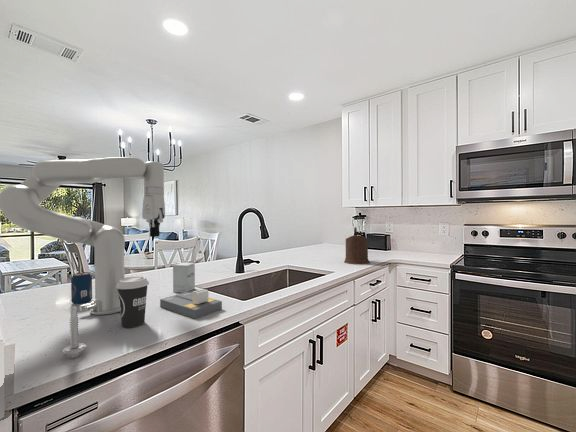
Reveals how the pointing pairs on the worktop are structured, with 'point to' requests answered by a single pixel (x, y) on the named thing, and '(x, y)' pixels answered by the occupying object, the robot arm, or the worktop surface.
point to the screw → (74, 337)
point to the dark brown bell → (356, 249)
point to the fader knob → (200, 296)
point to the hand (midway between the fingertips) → (154, 236)
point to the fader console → (190, 305)
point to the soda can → (81, 288)
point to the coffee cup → (132, 300)
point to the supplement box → (183, 277)
